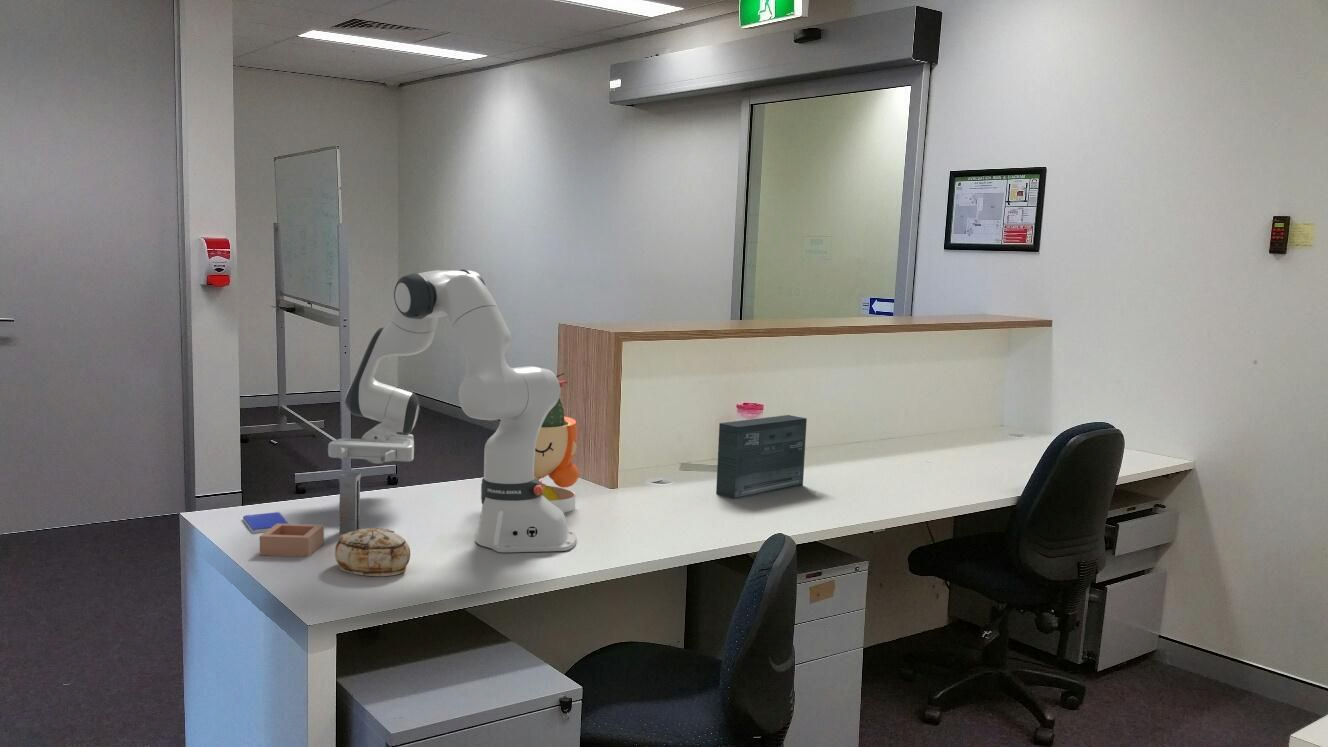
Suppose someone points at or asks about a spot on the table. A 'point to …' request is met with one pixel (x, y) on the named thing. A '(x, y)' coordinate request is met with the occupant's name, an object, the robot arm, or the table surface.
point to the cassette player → (760, 455)
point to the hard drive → (263, 521)
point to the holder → (291, 540)
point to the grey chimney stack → (349, 502)
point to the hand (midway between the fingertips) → (363, 456)
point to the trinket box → (372, 552)
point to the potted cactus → (557, 456)
